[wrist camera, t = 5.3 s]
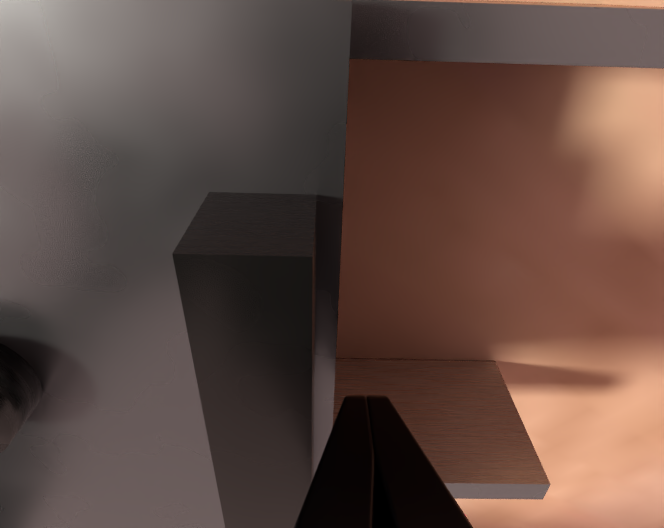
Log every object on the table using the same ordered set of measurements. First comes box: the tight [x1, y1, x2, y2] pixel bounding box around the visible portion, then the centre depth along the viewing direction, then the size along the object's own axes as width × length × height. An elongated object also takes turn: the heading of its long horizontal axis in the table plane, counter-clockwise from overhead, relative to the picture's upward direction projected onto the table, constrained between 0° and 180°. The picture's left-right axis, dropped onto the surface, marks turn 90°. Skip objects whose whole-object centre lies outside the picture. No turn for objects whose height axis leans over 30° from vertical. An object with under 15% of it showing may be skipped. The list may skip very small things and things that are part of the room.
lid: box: [0, 0, 352, 528], centre depth 8 cm, size 13×12×3 cm
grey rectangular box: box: [333, 0, 664, 499], centre depth 12 cm, size 17×22×5 cm
